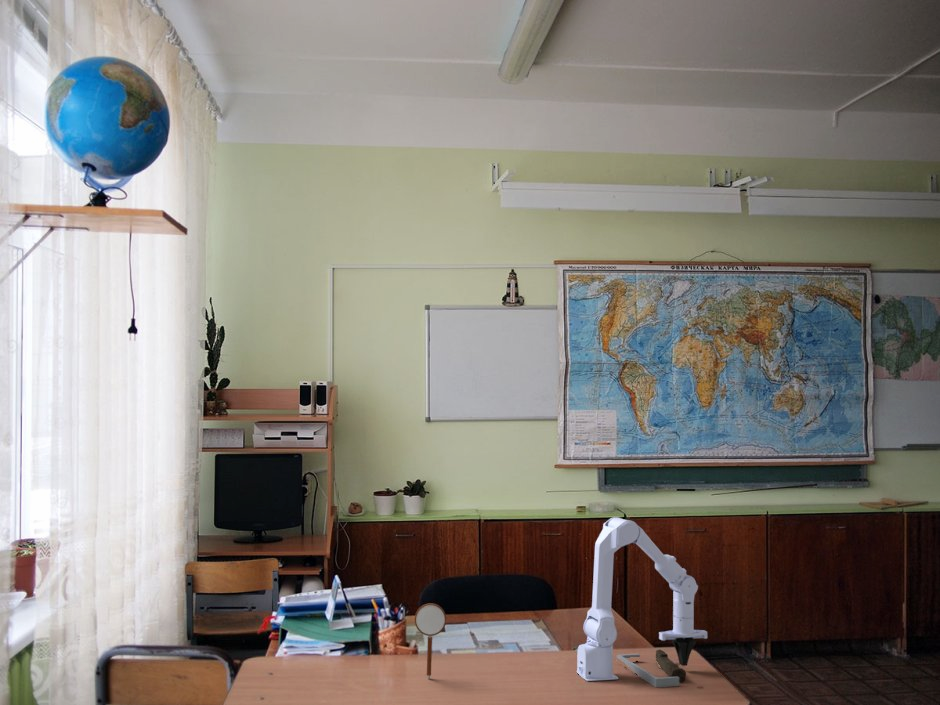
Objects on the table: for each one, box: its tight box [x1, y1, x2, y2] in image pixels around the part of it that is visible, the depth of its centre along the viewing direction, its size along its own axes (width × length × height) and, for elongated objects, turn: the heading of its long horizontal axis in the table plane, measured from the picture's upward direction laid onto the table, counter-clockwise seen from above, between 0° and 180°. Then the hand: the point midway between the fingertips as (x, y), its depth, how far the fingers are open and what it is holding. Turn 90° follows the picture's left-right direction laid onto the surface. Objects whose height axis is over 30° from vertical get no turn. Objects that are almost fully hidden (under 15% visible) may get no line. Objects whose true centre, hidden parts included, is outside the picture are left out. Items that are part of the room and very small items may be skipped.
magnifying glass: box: [414, 602, 447, 680], centre depth 225 cm, size 9×2×20 cm, turn 89°
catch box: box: [616, 653, 680, 688], centre depth 234 cm, size 7×24×2 cm, turn 15°
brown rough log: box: [655, 649, 687, 684], centre depth 236 cm, size 19×4×5 cm, turn 3°
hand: (683, 664), depth 237 cm, fingers closed
